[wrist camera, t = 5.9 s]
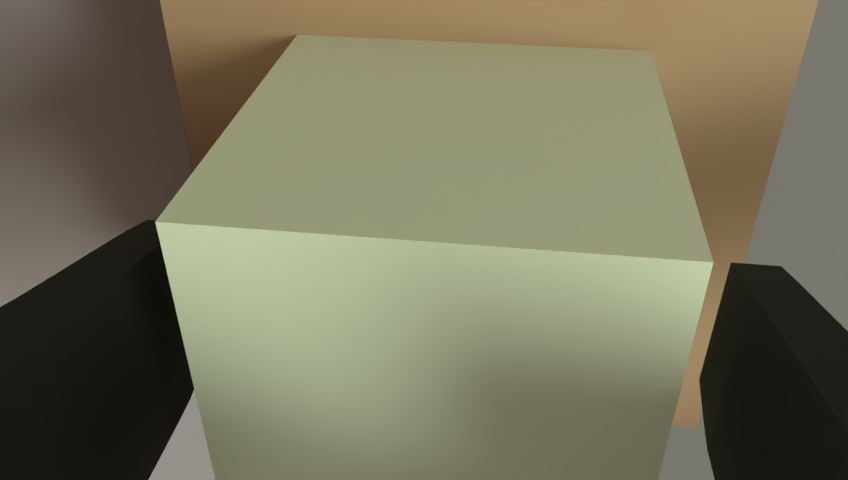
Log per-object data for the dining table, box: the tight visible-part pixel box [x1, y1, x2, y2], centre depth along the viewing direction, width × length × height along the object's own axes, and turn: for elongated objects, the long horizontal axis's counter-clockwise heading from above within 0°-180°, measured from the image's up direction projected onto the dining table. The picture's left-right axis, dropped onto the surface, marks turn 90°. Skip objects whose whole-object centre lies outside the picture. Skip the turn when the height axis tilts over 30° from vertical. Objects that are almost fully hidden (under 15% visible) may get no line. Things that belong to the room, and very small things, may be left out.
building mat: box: [658, 0, 848, 480], centre depth 18 cm, size 18×20×1 cm
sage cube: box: [155, 35, 714, 480], centre depth 10 cm, size 5×5×5 cm
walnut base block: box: [160, 0, 819, 428], centre depth 14 cm, size 9×9×4 cm
